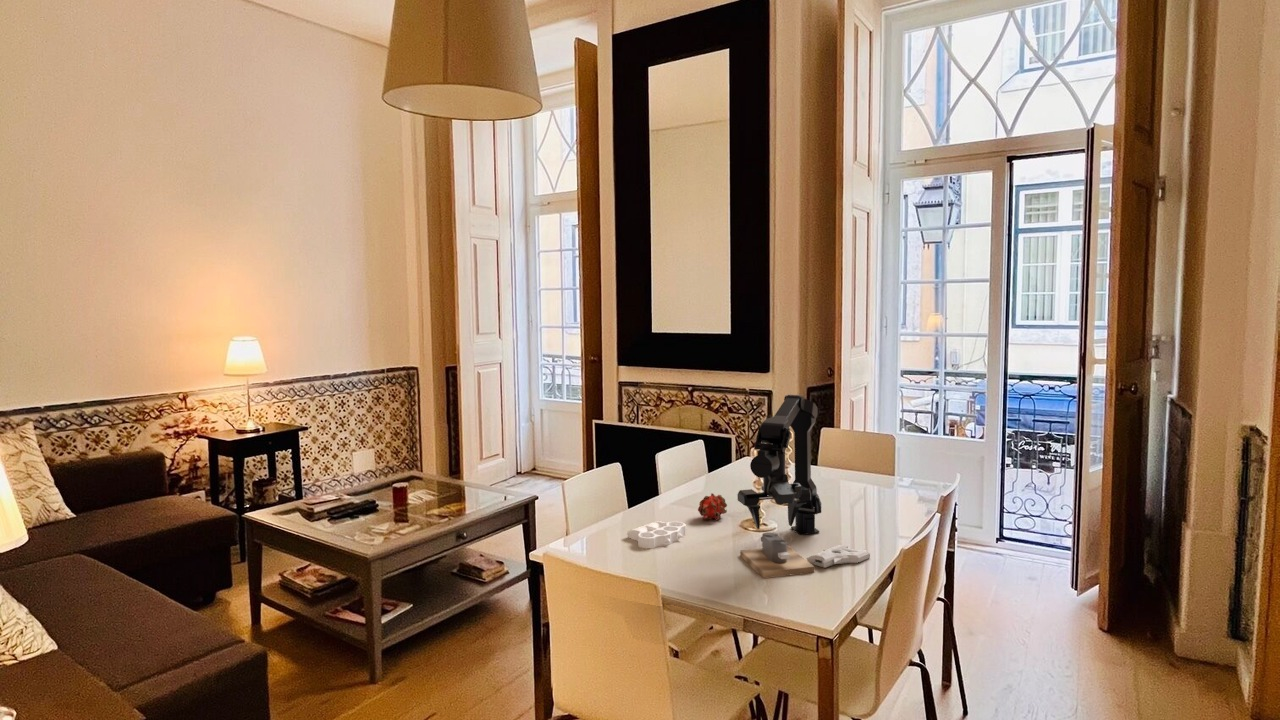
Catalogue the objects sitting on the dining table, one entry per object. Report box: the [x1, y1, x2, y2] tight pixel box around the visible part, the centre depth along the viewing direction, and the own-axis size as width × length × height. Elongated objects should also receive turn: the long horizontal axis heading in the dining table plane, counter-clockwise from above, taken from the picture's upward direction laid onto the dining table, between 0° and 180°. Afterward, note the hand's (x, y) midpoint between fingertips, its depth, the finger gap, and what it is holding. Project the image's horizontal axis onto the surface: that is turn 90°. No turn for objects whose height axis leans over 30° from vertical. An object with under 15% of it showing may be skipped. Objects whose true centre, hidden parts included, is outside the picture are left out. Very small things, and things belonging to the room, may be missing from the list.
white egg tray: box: [626, 520, 687, 549], centre depth 207 cm, size 3×18×15 cm
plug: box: [760, 531, 790, 564], centre depth 186 cm, size 14×4×5 cm, turn 13°
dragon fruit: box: [697, 493, 728, 521], centre depth 225 cm, size 8×8×12 cm
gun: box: [806, 544, 871, 569], centre depth 187 cm, size 18×3×10 cm
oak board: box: [739, 545, 815, 579], centre depth 186 cm, size 16×14×2 cm
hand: (774, 527), depth 186 cm, fingers open, 9 cm apart
